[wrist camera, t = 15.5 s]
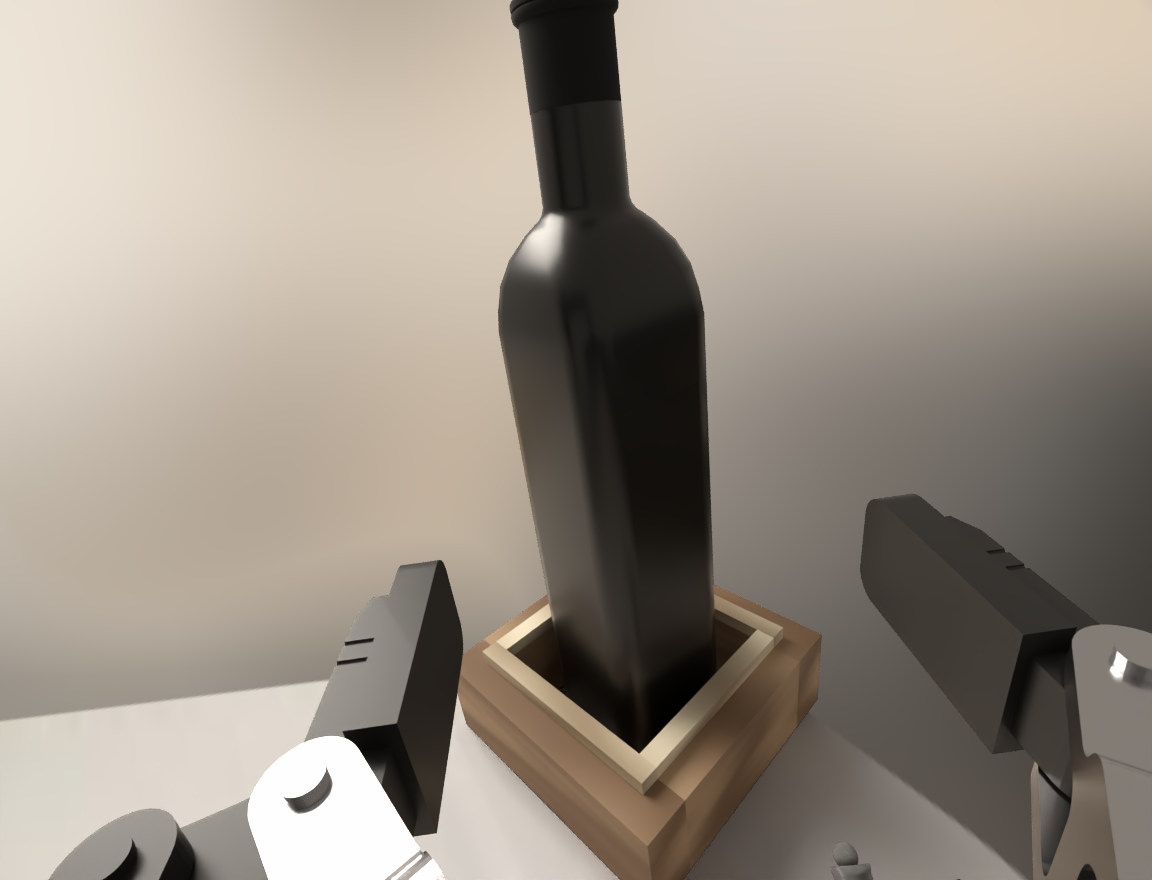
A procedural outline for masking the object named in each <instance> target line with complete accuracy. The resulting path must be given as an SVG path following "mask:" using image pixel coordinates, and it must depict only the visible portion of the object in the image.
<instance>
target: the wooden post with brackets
mask: <svg viewBox="0 0 1152 880" xmlns="http://www.w3.org/2000/svg"><path fill="white" fill-rule="evenodd" d="M833 856H834V859H835V861H836V863H837V864H838V865H839V866H837V867H830V869H831V872H832V874H833V876H834V879H835V880H873V878H872V875H871V868H870V864H861V865H857V864H858V855H857V852H856V850H855V849H854V847H853V846H852V845H850V844H849V843H847V842H838V843H837V844H836V845H835V846H834V849H833Z"/></svg>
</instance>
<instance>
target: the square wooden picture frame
mask: <svg viewBox="0 0 1152 880" xmlns="http://www.w3.org/2000/svg"><path fill="white" fill-rule="evenodd" d="M714 608H715V636H716V664H717V672H716V674H715V675H714V676H713V677H712V678H711V679H710V680H709V681H708V682H707V683H706V684H705V685H704V686H703V687H702V688H701V689H700V690H699V691H698V693H697V694H696V695H695V696H694V697H693V698H692V699H691V700H690V701H689V702H688V703H687V704H686V705H685V706H684V707H683V708H682V709H681V710H680V712H679V713H678V714H677V715H676V716H675V717H674V718H673V719H672V720H671V721H670V722H669V723H668V724H667V725H666V726H665V727H664V728H663V729H662V731H661V732H660V733H659V734H658V735H657V736H656V737H655V738H654V739H653V740H652V741H651V742H650V743H649V744H648V745H647V746H646V747H645V748H644V750H643V751H642V752H641V753H640V754H639V753H637V752H636V751H635V750H634V749H632V748H631V747H630V746H629V745H627V744H626V743H625V742H623V741H622V740H621V739H620V738H618V737H617V736H616V735H615V734H613V733H612V732H611V731H609V730H608V729H607V728H606V727H604V726H603V725H602V724H601V723H599V722H598V721H597V720H595V719H594V718H593V717H592V716H590V715H589V714H588V713H587V712H585V711H584V710H583V709H581V708H580V707H579V706H578V705H576V704H575V703H574V702H573V701H571V700H570V699H569V698H567V697H566V696H565V695H564V694H562V693H561V692H560V691H559V689H560V688H561V687H562V686H564V681H563V676H562V670H561V665H560V659H559V654H558V649H557V643H556V638H555V632H554V627H553V622H552V616H551V611H550V606H549V600H548V595H546V596H545V597H543V598H542V599H540V600H539V601H537V602H536V603H535V604H533V605H532V606H530V607H529V608H528V609H526V610H525V611H523V612H522V613H520V614H519V615H518V616H516V617H515V618H513V619H512V620H511V621H509V622H508V623H506V624H505V625H503V626H502V627H501V628H499V629H498V630H496V631H495V632H494V633H492V634H491V635H489V636H488V637H487V638H485V639H484V640H482V641H481V642H480V643H478V644H477V645H476V646H474V647H472V648H471V649H470V650H468V651H467V652H465V653H464V654H463V658H462V665H461V672H460V679H459V685H458V692H457V693H458V696H459V700H460V703H461V707H462V710H463V714H464V717H465V720H466V724H467V725H468V726H469V727H470V728H471V729H472V730H473V731H474V732H475V733H476V734H477V735H478V736H479V737H480V738H481V739H482V740H483V741H484V742H485V743H486V744H487V745H488V746H489V747H490V748H491V749H492V750H493V751H494V752H495V753H496V754H497V755H498V756H499V757H500V758H501V759H502V760H503V761H504V762H505V763H506V764H507V765H508V766H509V767H510V769H511V770H512V771H513V772H514V773H515V774H516V775H517V776H518V777H519V778H520V779H521V780H522V781H523V782H524V783H525V784H526V785H527V786H528V787H529V788H530V789H531V790H532V791H533V792H534V793H535V794H536V795H537V796H538V797H539V798H540V799H541V800H542V801H543V802H544V803H545V804H546V805H547V806H548V807H549V808H550V809H551V810H552V811H553V812H554V813H555V814H556V815H557V816H558V817H559V818H560V819H561V820H562V821H563V822H564V823H565V824H566V825H567V826H568V827H569V828H570V829H571V830H572V831H573V832H574V833H575V834H576V835H577V836H578V837H579V838H580V839H581V840H582V841H583V842H584V843H585V844H586V845H587V846H588V847H589V849H590V850H591V851H592V852H593V853H594V854H595V855H596V856H597V857H598V858H599V859H600V860H601V861H602V862H603V863H604V864H605V865H606V866H607V867H608V868H609V869H610V870H611V871H612V872H613V873H614V874H615V875H616V876H617V877H618V878H619V879H620V880H683V879H684V878H685V876H686V875H687V874H688V872H689V871H690V870H691V868H692V867H693V866H694V864H695V863H696V862H697V860H698V859H699V858H700V856H701V855H702V854H703V852H704V851H705V849H706V848H707V847H708V845H709V844H710V843H711V841H712V840H713V839H714V837H715V836H716V835H717V833H718V832H719V831H720V829H721V828H722V827H723V825H724V824H725V823H726V821H727V820H728V819H729V817H730V816H731V815H732V813H733V812H734V811H735V809H736V808H737V807H738V805H739V804H740V803H741V801H742V800H743V799H744V797H745V796H746V794H747V793H748V792H749V790H750V789H751V788H752V786H753V785H754V784H755V782H756V781H757V780H758V778H759V777H760V776H761V774H762V773H763V772H764V770H765V769H766V768H767V766H768V765H769V764H770V762H771V761H772V760H773V758H774V757H775V756H776V754H777V753H778V752H779V750H780V749H781V748H782V746H783V745H784V744H785V742H786V741H787V739H788V738H789V737H790V735H791V734H792V733H793V731H794V730H795V729H796V727H797V726H798V725H799V723H800V722H801V721H802V719H803V718H804V717H805V715H806V714H807V713H808V711H809V710H810V709H811V707H812V706H813V705H814V703H815V702H816V701H817V699H818V684H819V667H820V653H821V637H822V635H821V634H819V633H817V632H815V631H812V630H810V629H808V628H806V627H804V626H802V625H800V624H797V623H795V622H793V621H791V620H789V619H787V618H784V617H782V616H780V615H778V614H776V613H774V612H772V611H770V610H767V609H765V608H763V607H761V606H759V605H757V604H754V603H752V602H750V601H748V600H746V599H744V598H742V597H739V596H737V595H735V594H733V593H731V592H729V591H727V590H724V589H722V588H720V587H718V586H716V585H714Z"/></svg>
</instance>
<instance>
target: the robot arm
mask: <svg viewBox="0 0 1152 880" xmlns="http://www.w3.org/2000/svg"><path fill="white" fill-rule="evenodd" d="M860 572H861V579H862V583H863V586H864V589H865V591H866V593H867V595H868V597H869V599H870V600H871V602H872V603H873V604H874V605H875V607H876V608H877V609H878V610H879V612H880V613H881V614H882V616H883V617H884V618H885V619H886V621H887V622H888V623H889V624H890V625H891V627H892V628H893V629H894V631H895V632H896V633H897V634H898V636H899V637H900V638H901V640H902V641H903V642H904V643H905V645H906V646H907V647H908V648H909V649H910V651H911V652H912V653H913V655H914V656H915V657H916V658H917V660H918V661H919V662H920V663H921V665H922V666H923V667H924V669H925V670H926V671H927V672H928V674H929V675H930V676H931V677H932V678H933V680H934V681H935V682H936V684H937V685H938V686H939V688H940V689H941V690H942V691H943V692H944V694H945V695H946V696H947V698H948V699H949V700H950V701H951V703H952V704H953V705H954V706H955V708H956V709H957V710H958V712H959V713H960V714H961V715H962V717H963V718H964V719H965V720H966V722H967V723H968V724H969V725H970V727H971V728H972V729H973V730H974V732H975V733H976V734H977V736H978V737H979V738H980V739H981V740H982V742H983V743H984V744H985V745H986V747H987V748H988V749H989V751H990V752H991V753H992V754H997V753H1003V752H1011V751H1018V750H1024V749H1025V750H1026V752H1027V753H1028V754H1029V755H1030V756H1031V757H1032V759H1033V760H1034V761H1035V762H1034V766H1033V769H1032V772H1031V806H1032V845H1033V880H1152V634H1150V633H1148V632H1145V631H1141V630H1137V629H1134V628H1129V627H1123V626H1115V625H1100V624H1099V623H1097V622H1096V621H1095V620H1094V619H1093V618H1091V617H1090V616H1089V615H1088V614H1086V613H1085V612H1084V611H1083V610H1081V609H1080V608H1079V607H1077V606H1076V605H1075V604H1074V603H1072V602H1071V601H1070V600H1069V599H1067V598H1066V597H1065V596H1064V595H1062V594H1061V593H1060V592H1059V591H1057V590H1056V589H1055V588H1054V587H1052V586H1051V585H1050V584H1048V583H1047V582H1046V581H1044V580H1043V579H1042V578H1041V577H1040V576H1038V575H1037V574H1036V573H1035V572H1033V571H1032V570H1031V569H1030V568H1025V567H1024V564H1023V563H1022V562H1021V561H1020V560H1018V559H1017V558H1016V557H1014V556H1013V555H1012V554H1011V553H1009V552H1008V553H1006V552H1005V550H1004V548H1003V547H1002V546H1001V545H999V544H998V543H997V542H996V541H994V540H993V539H992V538H991V537H989V536H988V535H987V534H985V533H984V532H983V531H982V530H980V529H977V528H975V527H973V526H971V525H969V524H967V523H964V522H962V521H960V520H958V519H956V518H953V517H951V516H946V517H944V516H943V515H942V514H941V513H939V512H938V511H937V510H936V509H934V508H933V507H932V506H931V505H930V504H929V503H927V502H926V501H925V500H924V499H922V498H921V497H920V496H918V495H916V494H907V495H900V496H893V497H886V498H880V499H873V500H871V501H870V502H869V503H868V505H867V508H866V514H865V524H864V534H863V545H862V555H861V564H860ZM462 658H463V637H462V629H461V624H460V620H459V616H458V613H457V608H456V605H455V601H454V597H453V594H452V590H451V586H450V583H449V579H448V575H447V571H446V568H445V566H444V563H443V562H442V561H441V560H437V561H430V562H423V563H417V564H409V565H402V566H400V567H399V569H398V571H397V574H396V577H395V580H394V583H393V586H392V588H391V591H390V594H389V595H386V596H379V597H373V598H372V600H371V601H370V602H369V603H368V604H367V605H366V606H365V607H364V609H363V610H362V611H361V612H360V613H359V614H358V615H357V616H356V617H355V619H354V620H353V623H352V625H351V628H350V630H349V633H348V635H347V638H346V640H345V646H343V647H342V650H341V652H340V655H339V658H338V660H337V666H335V667H334V670H333V672H332V675H331V677H330V680H329V682H328V684H327V687H326V689H325V692H324V694H323V697H322V699H321V702H320V704H319V707H318V709H317V712H316V714H315V717H314V719H313V721H312V724H311V726H310V729H309V731H308V734H307V736H306V739H305V741H304V743H303V744H301V745H299V746H297V747H296V748H294V749H292V750H290V751H289V752H288V753H286V754H285V755H283V756H282V757H281V758H280V759H279V760H277V761H276V762H275V763H274V764H273V765H272V766H271V767H270V768H269V769H268V770H267V771H266V773H265V774H264V775H263V777H262V778H261V779H260V781H259V782H258V784H257V786H256V787H255V789H254V791H253V794H252V796H251V797H250V798H248V799H246V800H244V801H242V802H240V803H238V804H236V805H233V806H231V807H229V808H227V809H224V810H222V811H220V812H217V813H215V814H213V815H210V816H208V817H206V818H203V819H201V820H199V821H196V822H194V823H192V824H189V825H187V826H185V827H183V828H180V827H179V826H178V824H177V823H176V821H175V820H174V818H173V817H172V815H171V814H169V813H168V812H166V811H164V810H160V809H144V810H139V811H136V812H132V813H129V814H127V815H124V816H122V817H120V818H118V819H116V820H114V821H112V822H110V823H108V824H107V825H105V826H103V827H102V828H100V829H99V830H97V831H96V832H95V833H93V834H92V835H90V836H89V837H88V838H86V839H85V840H84V841H83V842H82V843H81V844H79V845H78V846H77V847H76V848H75V849H74V850H73V851H72V852H71V853H70V854H69V855H68V856H67V857H66V858H65V859H64V860H63V861H62V863H61V864H60V865H59V866H58V867H57V868H56V870H55V871H54V873H53V874H52V875H51V877H50V878H49V880H446V879H445V877H444V876H443V874H442V872H441V871H440V869H439V868H438V866H437V865H436V863H435V862H434V860H433V859H432V858H431V856H430V855H429V854H428V853H427V852H426V851H425V852H423V853H422V852H421V850H420V849H419V847H418V846H417V844H416V843H415V841H414V839H413V836H420V835H427V834H434V833H437V827H438V821H439V814H440V807H441V800H442V794H443V787H444V780H445V773H446V767H447V760H448V753H449V746H450V740H451V733H452V726H453V719H454V712H455V706H456V699H457V692H458V685H459V679H460V672H461V665H462ZM959 880H960V879H959Z"/></svg>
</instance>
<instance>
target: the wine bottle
mask: <svg viewBox="0 0 1152 880" xmlns="http://www.w3.org/2000/svg"><path fill="white" fill-rule="evenodd" d="M617 9H618V0H512V2H511V4H510V12H511V19H512V23H513V25H514V26H515V27H516V28H517V29H519V36H520V43H521V50H522V58H523V65H524V73H525V80H526V88H527V94H528V102H529V109H530V115H531V122H532V130H533V138H534V144H535V152H536V160H537V167H538V174H539V182H540V189H541V197H542V204H543V212H542V216H541V218H540V220H539V222H538V223H537V224H536V225H535V226H534V227H533V228H532V229H531V230H530V231H529V233H528V234H527V235H526V236H525V237H524V239H523V240H522V242H521V243H520V245H519V247H518V248H517V249H516V251H515V253H514V254H513V256H512V257H511V259H510V260H509V263H508V266H507V269H506V272H505V275H504V277H503V280H502V283H501V286H500V299H499V309H498V321H499V336H500V341H501V346H502V352H503V357H504V363H505V368H506V373H507V378H508V384H509V389H510V395H511V400H512V405H513V411H514V417H515V422H516V427H517V432H518V438H519V443H520V449H521V454H522V459H523V465H524V470H525V476H526V481H527V487H528V492H529V498H530V503H531V508H532V514H533V519H534V524H535V530H536V535H537V540H538V546H539V552H540V557H541V562H542V568H543V573H544V579H545V583H546V589H547V595H548V600H549V606H550V611H551V616H552V622H553V627H554V632H555V638H556V643H557V649H558V654H559V659H560V665H561V670H562V676H563V681H564V686H565V692H566V697H567V698H569V699H570V700H571V701H573V702H574V703H575V704H576V705H578V706H579V707H580V708H581V709H583V710H584V711H585V712H587V713H588V714H589V715H590V716H592V717H593V718H594V719H595V720H597V721H598V722H599V723H601V724H602V725H603V726H604V727H606V728H607V729H608V730H609V731H611V732H612V733H613V734H615V735H616V736H617V737H618V738H620V739H621V740H622V741H623V742H625V743H626V744H627V745H629V746H630V747H631V748H632V749H634V750H635V751H636V752H637V753H639V754H640V753H641V752H642V751H643V750H644V748H645V747H646V746H647V745H648V744H649V743H650V742H651V741H652V740H653V739H654V738H655V737H656V736H657V735H658V734H659V733H660V732H661V731H662V729H663V728H664V727H665V726H666V725H667V724H668V723H669V722H670V721H671V720H672V719H673V718H674V717H675V716H676V715H677V714H678V713H679V712H680V710H681V709H682V708H683V707H684V706H685V705H686V704H687V703H688V702H689V701H690V700H691V699H692V698H693V697H694V696H695V695H696V694H697V693H698V691H699V690H700V689H701V688H702V687H703V686H704V685H705V684H706V683H707V682H708V681H709V680H710V679H711V678H712V677H713V676H714V675H715V674H716V672H717V664H716V636H715V608H714V580H713V553H712V552H713V551H712V524H711V498H710V497H711V495H710V467H709V438H708V411H707V382H706V356H705V355H706V353H705V326H704V311H703V306H702V301H701V296H700V291H699V287H698V284H697V281H696V278H695V275H694V272H693V269H692V266H691V263H690V261H689V260H688V258H687V257H686V255H685V253H684V252H683V250H682V249H681V247H680V246H679V244H678V243H677V241H676V239H675V238H673V237H672V236H671V235H670V234H669V233H668V232H667V231H666V230H665V229H664V228H662V227H661V226H660V225H659V224H658V223H657V222H656V221H655V220H653V219H652V218H651V217H649V216H648V215H646V214H645V213H644V212H642V211H640V210H638V209H637V208H636V207H635V206H634V205H633V203H632V202H631V199H630V196H629V185H628V174H627V162H626V152H625V140H624V129H623V117H622V107H621V94H620V84H619V73H618V60H617V49H616V37H615V26H614V13H615V12H616V11H617Z"/></svg>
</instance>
